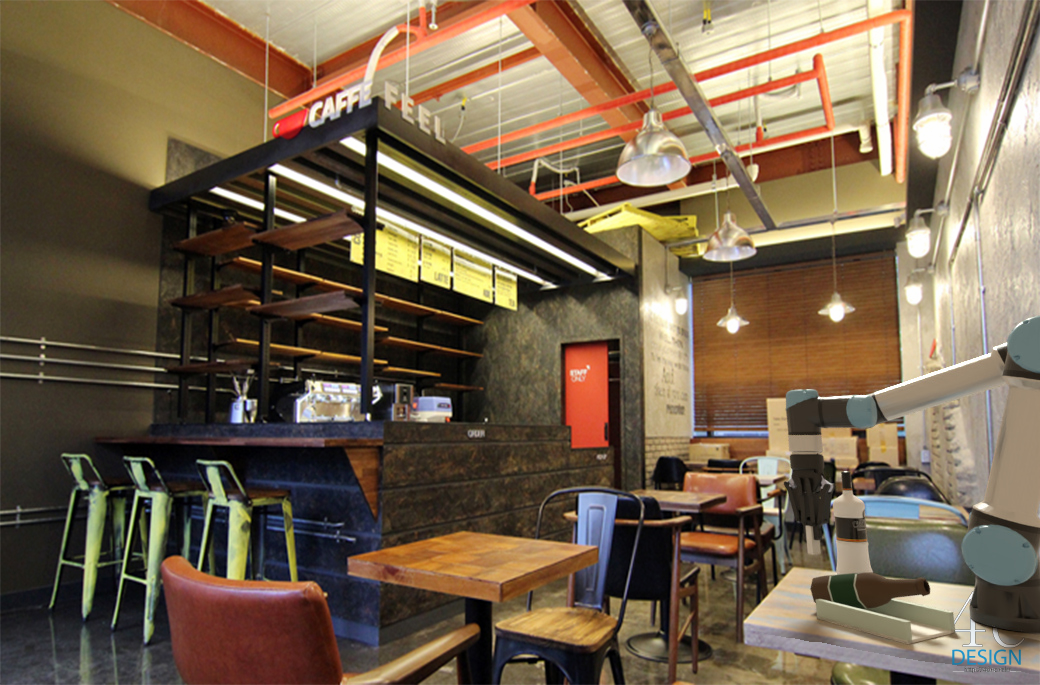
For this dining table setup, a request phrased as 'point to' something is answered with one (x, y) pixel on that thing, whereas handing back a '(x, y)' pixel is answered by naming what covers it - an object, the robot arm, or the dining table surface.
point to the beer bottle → (865, 589)
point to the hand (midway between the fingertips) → (814, 553)
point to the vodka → (850, 531)
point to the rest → (890, 619)
